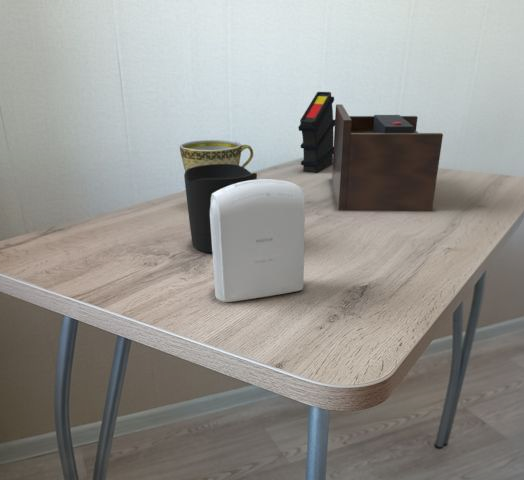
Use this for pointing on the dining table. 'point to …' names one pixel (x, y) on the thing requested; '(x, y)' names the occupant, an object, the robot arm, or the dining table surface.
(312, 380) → the dining table surface
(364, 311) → the dining table surface
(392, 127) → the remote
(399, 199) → the wooden storage bin
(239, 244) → the photo printer
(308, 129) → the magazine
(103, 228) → the dining table surface
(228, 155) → the ceramic cup
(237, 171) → the pen holder
